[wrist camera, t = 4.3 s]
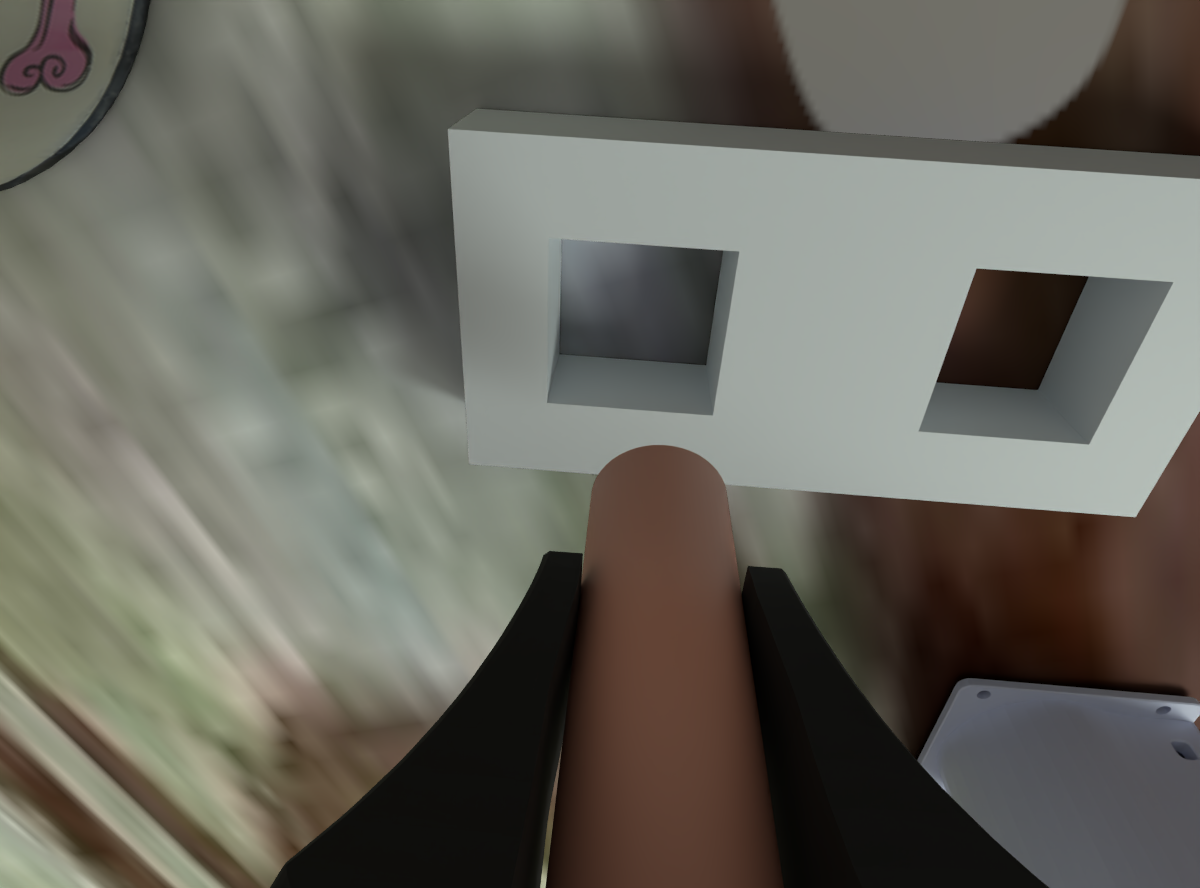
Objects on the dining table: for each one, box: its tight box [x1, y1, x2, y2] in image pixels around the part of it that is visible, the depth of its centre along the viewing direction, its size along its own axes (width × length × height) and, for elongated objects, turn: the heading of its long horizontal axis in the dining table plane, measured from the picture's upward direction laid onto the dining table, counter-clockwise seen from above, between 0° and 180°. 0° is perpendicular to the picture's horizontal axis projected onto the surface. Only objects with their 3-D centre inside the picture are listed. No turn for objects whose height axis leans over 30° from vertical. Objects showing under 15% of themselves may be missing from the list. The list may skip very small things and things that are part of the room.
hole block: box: [448, 109, 1200, 517], centre depth 19 cm, size 19×9×3 cm, turn 87°
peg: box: [546, 445, 784, 888], centre depth 12 cm, size 3×3×9 cm
